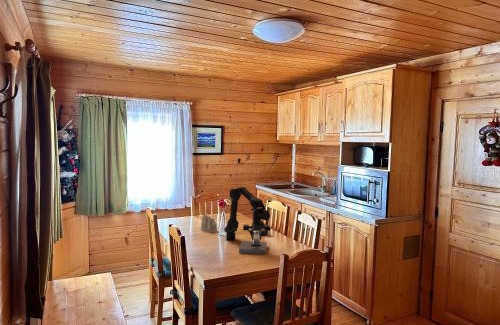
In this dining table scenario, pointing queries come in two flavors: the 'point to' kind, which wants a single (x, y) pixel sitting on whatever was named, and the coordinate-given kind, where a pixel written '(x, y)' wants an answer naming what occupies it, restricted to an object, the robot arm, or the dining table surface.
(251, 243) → the duct plate
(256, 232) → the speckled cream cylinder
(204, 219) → the ceramic cottage
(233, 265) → the dining table surface
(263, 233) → the dark knit hat
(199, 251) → the dining table surface
